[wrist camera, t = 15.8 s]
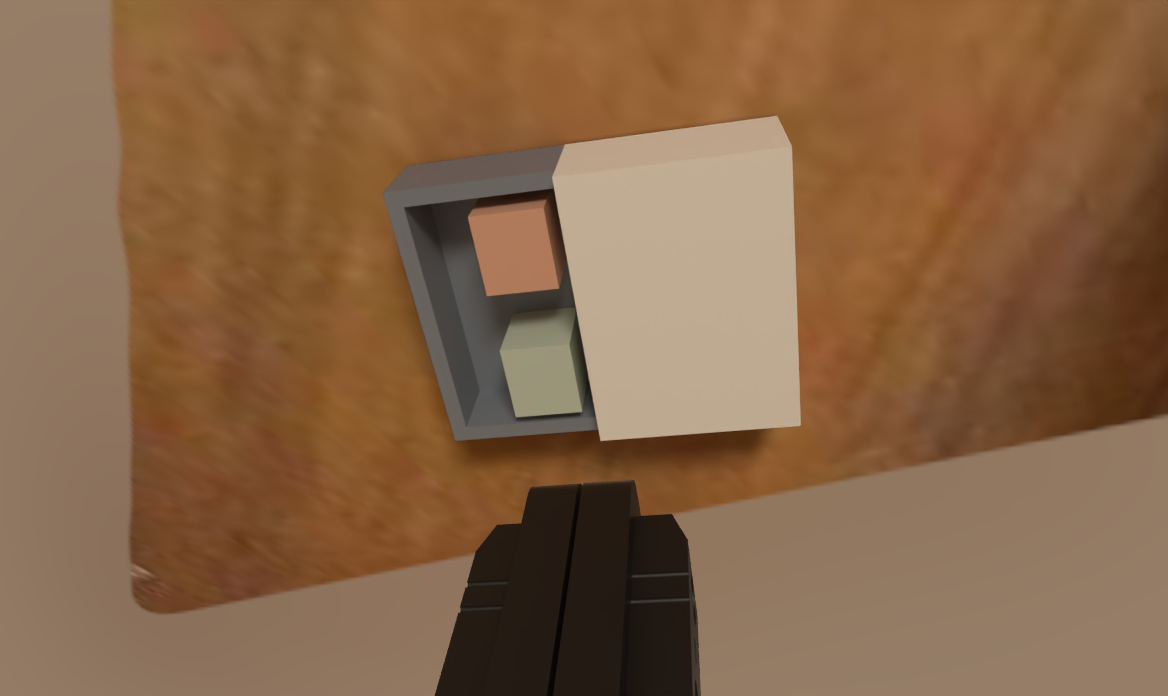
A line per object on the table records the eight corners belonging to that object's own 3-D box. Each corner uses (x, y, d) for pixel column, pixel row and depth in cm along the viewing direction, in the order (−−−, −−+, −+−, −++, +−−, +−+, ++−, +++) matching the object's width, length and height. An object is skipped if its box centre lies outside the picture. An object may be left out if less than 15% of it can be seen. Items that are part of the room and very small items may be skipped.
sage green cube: (569, 344, 39) (499, 351, 39) (582, 411, 41) (515, 417, 41) (577, 306, 42) (513, 313, 43) (588, 370, 44) (527, 376, 45)
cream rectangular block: (777, 115, 37) (791, 146, 32) (787, 372, 43) (800, 425, 39) (564, 144, 38) (552, 177, 34) (606, 387, 45) (600, 440, 41)
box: (564, 144, 38) (554, 170, 35) (606, 387, 45) (601, 429, 42) (407, 165, 39) (382, 192, 36) (471, 399, 46) (455, 440, 43)
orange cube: (543, 207, 35) (467, 216, 36) (559, 288, 37) (487, 296, 38) (554, 179, 39) (485, 187, 39) (568, 254, 41) (502, 261, 41)
